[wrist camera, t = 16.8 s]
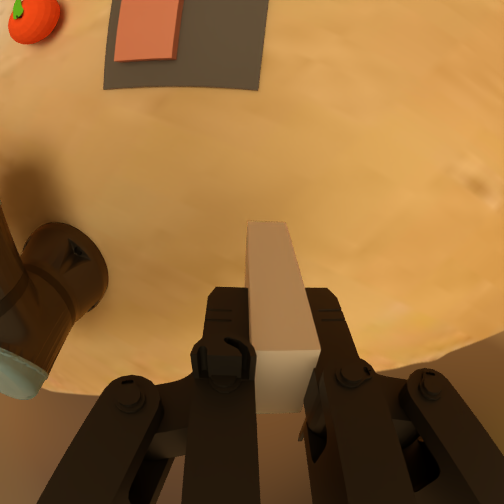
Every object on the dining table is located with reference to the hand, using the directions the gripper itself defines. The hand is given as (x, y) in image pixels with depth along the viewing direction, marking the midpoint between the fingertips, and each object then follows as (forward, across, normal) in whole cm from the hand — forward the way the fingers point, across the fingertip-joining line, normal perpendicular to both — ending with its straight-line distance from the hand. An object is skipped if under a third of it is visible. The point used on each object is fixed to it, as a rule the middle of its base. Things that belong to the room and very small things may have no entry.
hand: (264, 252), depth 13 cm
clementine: (+25, -27, +19) cm, 41 cm away
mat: (+25, -8, +14) cm, 30 cm away
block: (+23, -8, +14) cm, 28 cm away
